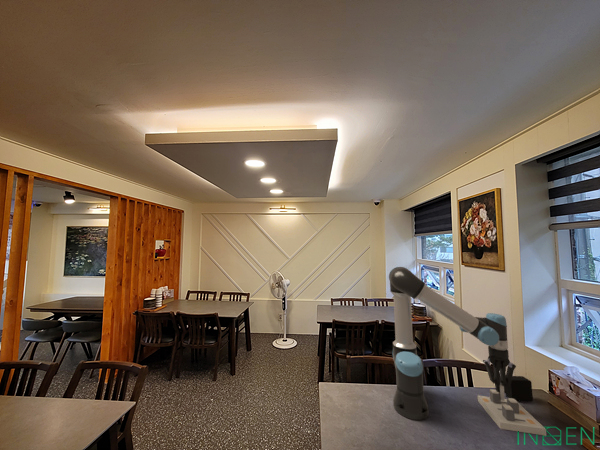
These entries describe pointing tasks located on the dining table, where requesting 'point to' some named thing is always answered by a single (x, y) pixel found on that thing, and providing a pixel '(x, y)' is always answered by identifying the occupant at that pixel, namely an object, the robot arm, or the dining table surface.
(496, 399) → the slider far
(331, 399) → the dining table surface
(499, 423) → the switch unit
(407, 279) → the robot arm
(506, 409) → the slider near
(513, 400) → the slider mid
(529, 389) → the electronic device
